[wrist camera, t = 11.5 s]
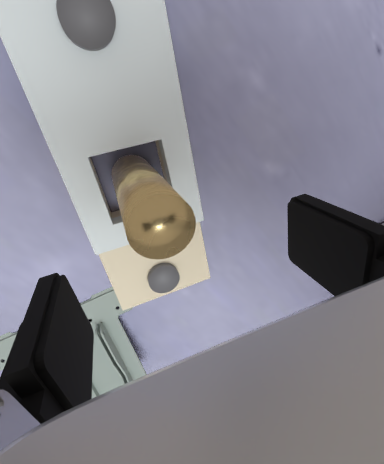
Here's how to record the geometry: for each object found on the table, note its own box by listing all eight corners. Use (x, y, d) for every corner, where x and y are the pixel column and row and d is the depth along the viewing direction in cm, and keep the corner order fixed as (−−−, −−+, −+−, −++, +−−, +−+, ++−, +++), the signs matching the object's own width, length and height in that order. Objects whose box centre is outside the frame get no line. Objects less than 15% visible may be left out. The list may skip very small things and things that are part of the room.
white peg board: (-9, -6, 16) (-34, -35, 13) (147, -24, 18) (159, -52, 15) (121, 301, 29) (125, 326, 25) (205, 270, 31) (218, 290, 27)
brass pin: (146, 150, 23) (188, 185, 13) (156, 188, 25) (201, 246, 14) (105, 160, 22) (115, 206, 12) (118, 199, 24) (137, 268, 14)
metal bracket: (171, 391, 29) (36, 462, 27) (164, 358, 35) (52, 415, 32) (117, 280, 26) (-42, 351, 23) (119, 264, 31) (-10, 319, 29)
